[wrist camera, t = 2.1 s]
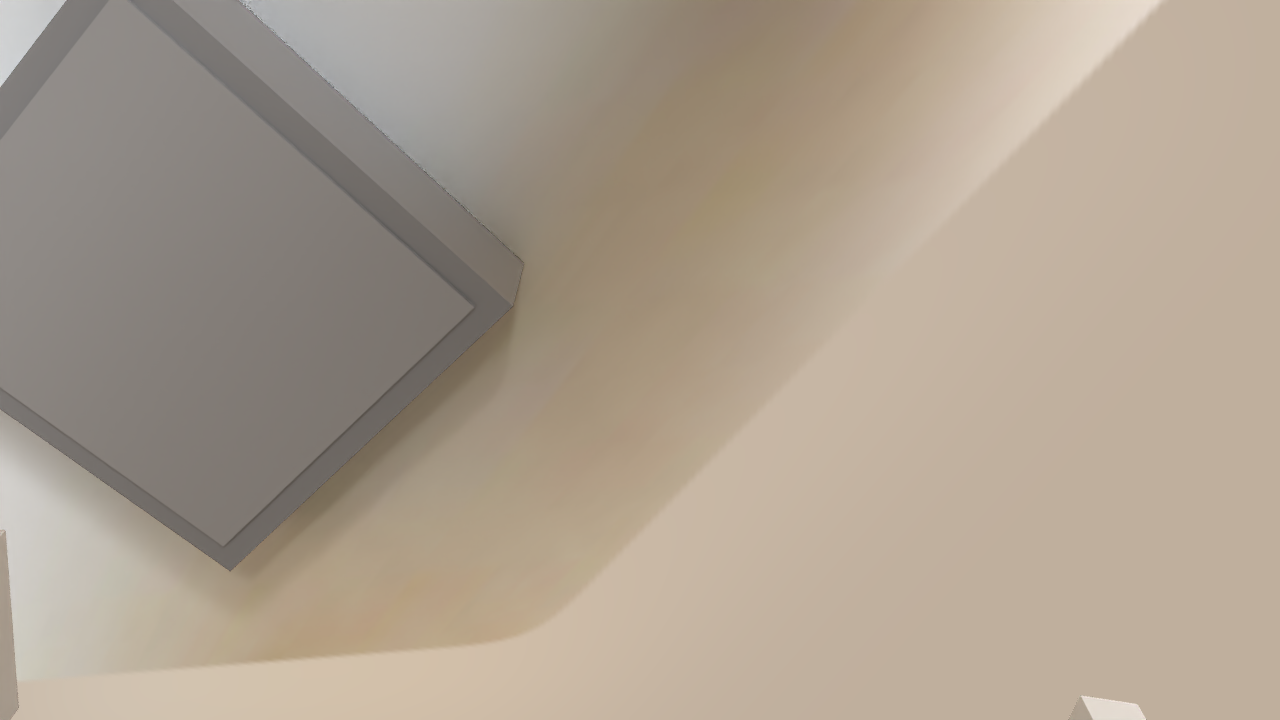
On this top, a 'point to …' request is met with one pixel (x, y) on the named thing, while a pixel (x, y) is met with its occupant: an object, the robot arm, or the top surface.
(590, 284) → the top surface
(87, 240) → the grey square block
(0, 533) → the robot arm
